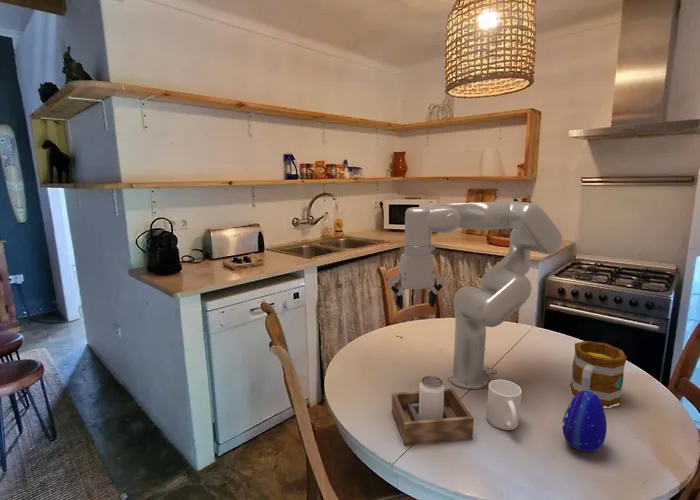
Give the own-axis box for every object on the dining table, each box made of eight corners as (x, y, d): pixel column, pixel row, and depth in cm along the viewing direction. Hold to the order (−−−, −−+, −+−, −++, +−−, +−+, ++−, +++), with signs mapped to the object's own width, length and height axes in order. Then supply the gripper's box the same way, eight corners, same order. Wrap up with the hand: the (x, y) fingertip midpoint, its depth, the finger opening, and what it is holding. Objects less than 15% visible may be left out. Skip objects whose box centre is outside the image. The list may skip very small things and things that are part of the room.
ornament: (565, 427, 104) (571, 376, 101) (606, 442, 98) (613, 388, 95) (556, 449, 95) (562, 395, 93) (599, 467, 90) (607, 409, 87)
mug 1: (529, 441, 99) (533, 404, 97) (496, 440, 99) (499, 404, 97) (511, 412, 110) (514, 379, 108) (482, 412, 111) (484, 379, 109)
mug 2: (576, 379, 128) (581, 337, 125) (625, 395, 118) (631, 350, 115) (555, 404, 114) (560, 357, 111) (609, 424, 105) (616, 374, 102)
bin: (451, 407, 113) (452, 388, 112) (472, 439, 99) (473, 418, 98) (391, 412, 111) (392, 393, 110) (404, 445, 97) (404, 424, 96)
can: (443, 430, 101) (445, 389, 99) (418, 427, 103) (419, 386, 100) (442, 415, 108) (444, 376, 105) (418, 412, 109) (419, 373, 106)
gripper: (441, 247, 116) (439, 301, 120) (385, 248, 114) (384, 303, 118) (451, 252, 109) (448, 309, 113) (391, 253, 107) (390, 312, 110)
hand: (415, 306), depth 115 cm, fingers open, 9 cm apart
